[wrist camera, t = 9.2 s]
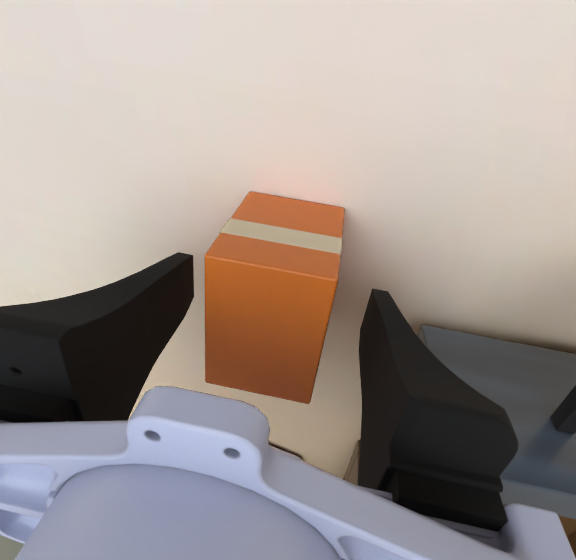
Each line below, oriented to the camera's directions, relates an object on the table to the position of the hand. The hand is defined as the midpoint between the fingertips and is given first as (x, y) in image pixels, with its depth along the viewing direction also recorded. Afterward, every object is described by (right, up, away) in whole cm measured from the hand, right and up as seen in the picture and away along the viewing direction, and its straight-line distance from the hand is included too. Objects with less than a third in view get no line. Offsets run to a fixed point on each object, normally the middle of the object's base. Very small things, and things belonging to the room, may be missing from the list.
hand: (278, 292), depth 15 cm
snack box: (0, +2, +2) cm, 3 cm away
